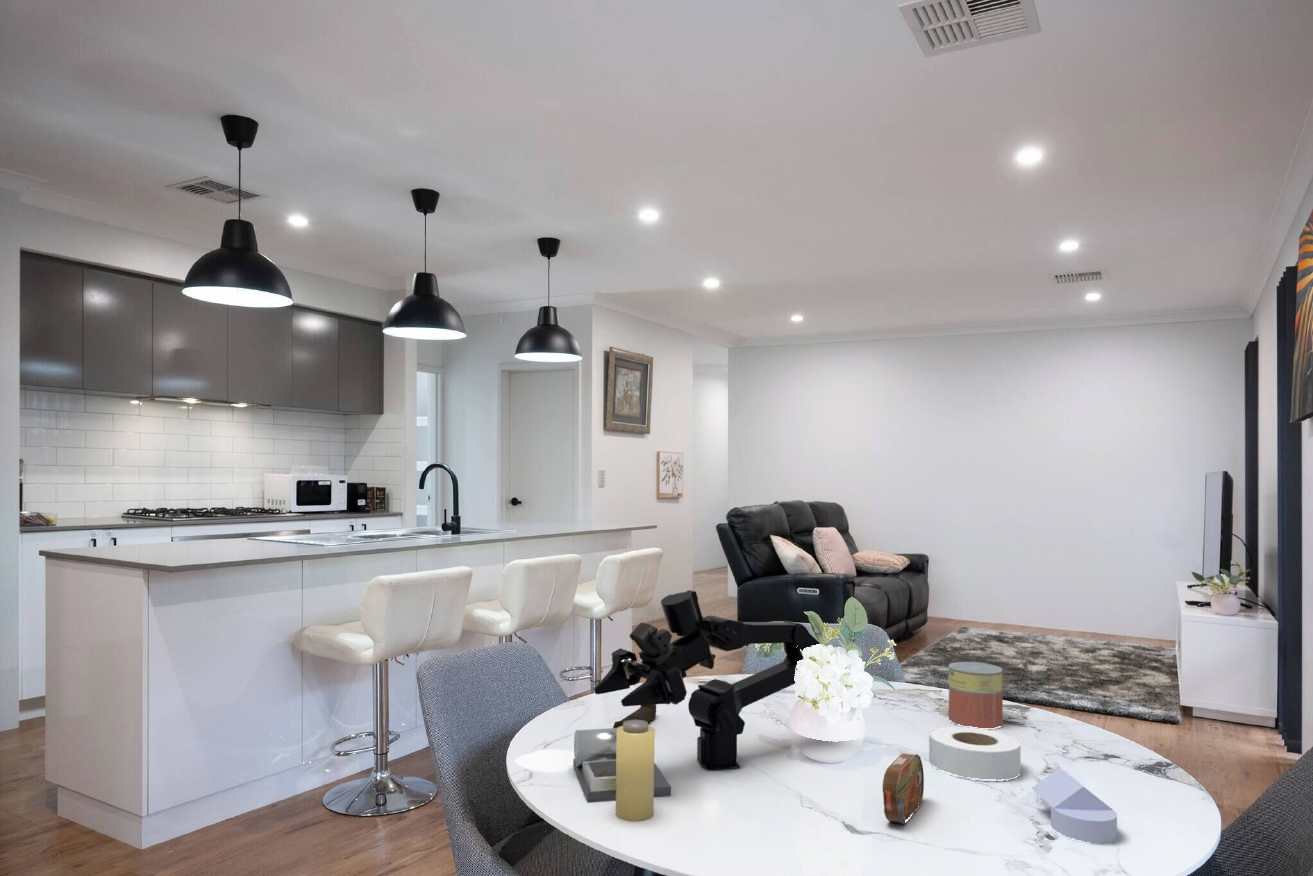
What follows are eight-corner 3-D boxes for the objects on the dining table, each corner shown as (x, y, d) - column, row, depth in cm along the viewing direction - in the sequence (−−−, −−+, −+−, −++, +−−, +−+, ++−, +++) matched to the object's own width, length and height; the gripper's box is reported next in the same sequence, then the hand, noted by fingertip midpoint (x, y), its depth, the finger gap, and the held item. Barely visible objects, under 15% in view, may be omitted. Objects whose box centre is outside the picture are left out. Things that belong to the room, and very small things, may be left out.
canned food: (957, 712, 195) (956, 659, 196) (1008, 721, 188) (1008, 666, 189) (941, 723, 186) (941, 668, 186) (995, 733, 179) (995, 675, 180)
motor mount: (648, 762, 158) (648, 721, 158) (671, 795, 142) (671, 750, 142) (573, 767, 155) (573, 725, 155) (587, 802, 138) (588, 755, 139)
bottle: (648, 804, 138) (649, 717, 138) (657, 819, 132) (658, 727, 132) (612, 807, 136) (613, 719, 137) (619, 822, 130) (620, 729, 131)
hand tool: (629, 742, 171) (630, 719, 171) (612, 739, 172) (612, 716, 173) (666, 718, 188) (667, 697, 188) (650, 716, 190) (650, 695, 190)
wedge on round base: (1031, 809, 138) (1066, 843, 125) (1030, 767, 138) (1065, 797, 125) (1087, 810, 138) (1128, 845, 125) (1087, 768, 138) (1128, 798, 125)
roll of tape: (925, 751, 167) (925, 722, 167) (1010, 758, 164) (1010, 728, 164) (934, 779, 152) (934, 747, 152) (1029, 787, 149) (1029, 754, 149)
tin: (899, 832, 128) (899, 775, 129) (879, 827, 130) (879, 771, 130) (925, 800, 141) (925, 749, 141) (906, 796, 143) (906, 745, 143)
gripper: (638, 608, 160) (568, 645, 152) (697, 623, 145) (622, 664, 136) (655, 662, 162) (587, 701, 153) (714, 682, 146) (642, 727, 138)
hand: (608, 697), depth 145 cm, fingers open, 9 cm apart
